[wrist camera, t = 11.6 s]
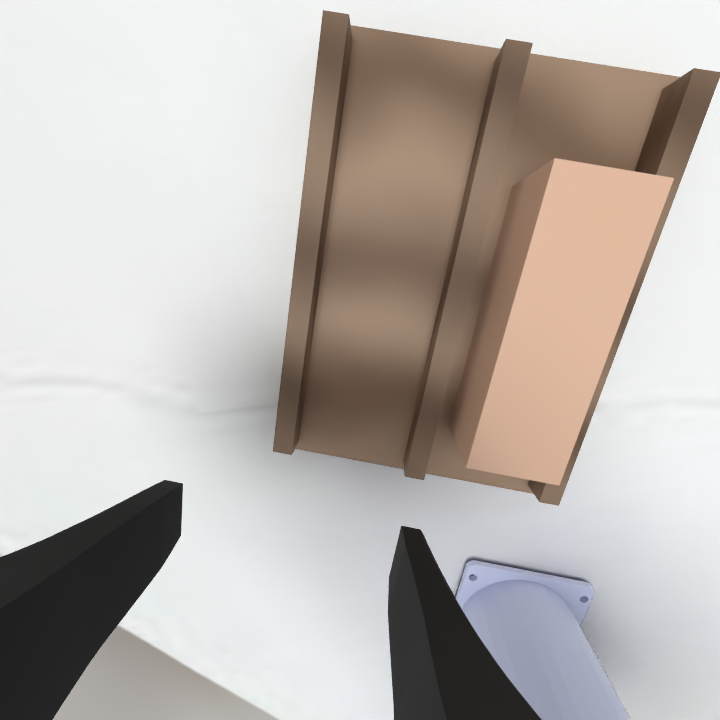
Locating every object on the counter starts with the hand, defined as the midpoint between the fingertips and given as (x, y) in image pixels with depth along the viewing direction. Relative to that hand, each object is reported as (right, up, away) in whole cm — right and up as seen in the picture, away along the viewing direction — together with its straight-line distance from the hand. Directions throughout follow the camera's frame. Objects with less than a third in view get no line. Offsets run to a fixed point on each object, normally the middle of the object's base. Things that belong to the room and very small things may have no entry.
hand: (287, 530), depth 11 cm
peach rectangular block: (+10, +7, +6) cm, 14 cm away
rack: (+7, +9, +7) cm, 13 cm away
